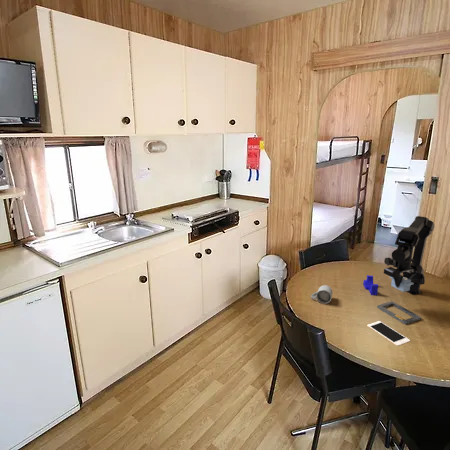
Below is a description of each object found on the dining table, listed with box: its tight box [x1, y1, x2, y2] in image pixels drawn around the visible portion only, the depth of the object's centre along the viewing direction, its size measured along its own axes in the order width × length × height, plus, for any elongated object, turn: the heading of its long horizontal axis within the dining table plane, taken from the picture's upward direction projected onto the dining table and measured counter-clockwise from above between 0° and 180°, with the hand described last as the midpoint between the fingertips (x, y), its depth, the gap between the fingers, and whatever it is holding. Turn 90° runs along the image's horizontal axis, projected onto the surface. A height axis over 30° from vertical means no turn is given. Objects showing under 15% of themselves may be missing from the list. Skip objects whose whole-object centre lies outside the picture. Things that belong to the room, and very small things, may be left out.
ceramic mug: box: [310, 284, 333, 305], centre depth 167 cm, size 11×8×8 cm
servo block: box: [389, 276, 414, 293], centre depth 154 cm, size 4×10×6 cm, turn 22°
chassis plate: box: [376, 300, 422, 326], centre depth 154 cm, size 10×16×1 cm, turn 23°
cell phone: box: [366, 320, 411, 346], centre depth 140 cm, size 8×16×1 cm, turn 23°
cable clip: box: [362, 274, 379, 296], centre depth 176 cm, size 12×4×6 cm, turn 169°
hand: (400, 286), depth 155 cm, fingers closed on servo block, 4 cm apart
